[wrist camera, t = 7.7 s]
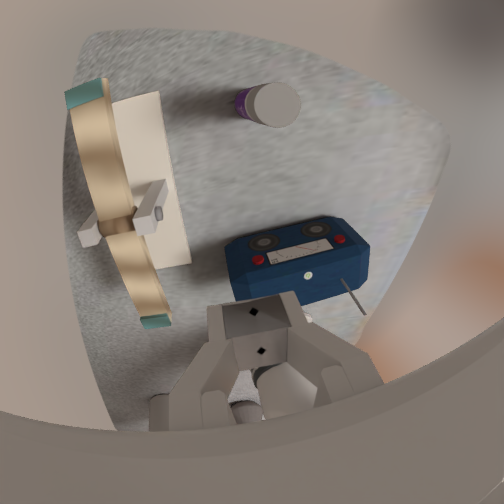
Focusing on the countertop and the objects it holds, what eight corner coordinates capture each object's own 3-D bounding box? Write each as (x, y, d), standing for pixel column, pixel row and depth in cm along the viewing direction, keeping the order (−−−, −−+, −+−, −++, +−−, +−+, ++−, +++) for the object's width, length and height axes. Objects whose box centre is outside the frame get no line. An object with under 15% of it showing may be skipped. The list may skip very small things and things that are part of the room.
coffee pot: (259, 411, 81) (267, 448, 69) (225, 414, 79) (231, 452, 67) (269, 380, 71) (281, 425, 58) (228, 383, 68) (236, 431, 56)
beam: (173, 310, 38) (172, 325, 36) (145, 314, 38) (143, 329, 36) (110, 78, 20) (101, 77, 18) (75, 91, 20) (62, 92, 18)
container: (228, 111, 35) (243, 116, 22) (242, 83, 33) (266, 72, 20) (258, 124, 36) (288, 137, 24) (272, 96, 34) (310, 95, 22)
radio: (339, 208, 46) (406, 274, 29) (339, 249, 51) (394, 321, 34) (221, 235, 45) (236, 324, 28) (233, 276, 50) (251, 367, 33)
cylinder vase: (198, 404, 73) (205, 477, 52) (169, 413, 75) (172, 481, 54) (170, 389, 66) (172, 470, 45) (141, 399, 68) (139, 473, 47)
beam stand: (192, 259, 46) (191, 320, 34) (133, 269, 45) (116, 329, 33) (159, 91, 31) (134, 85, 19) (89, 111, 30) (38, 121, 18)
